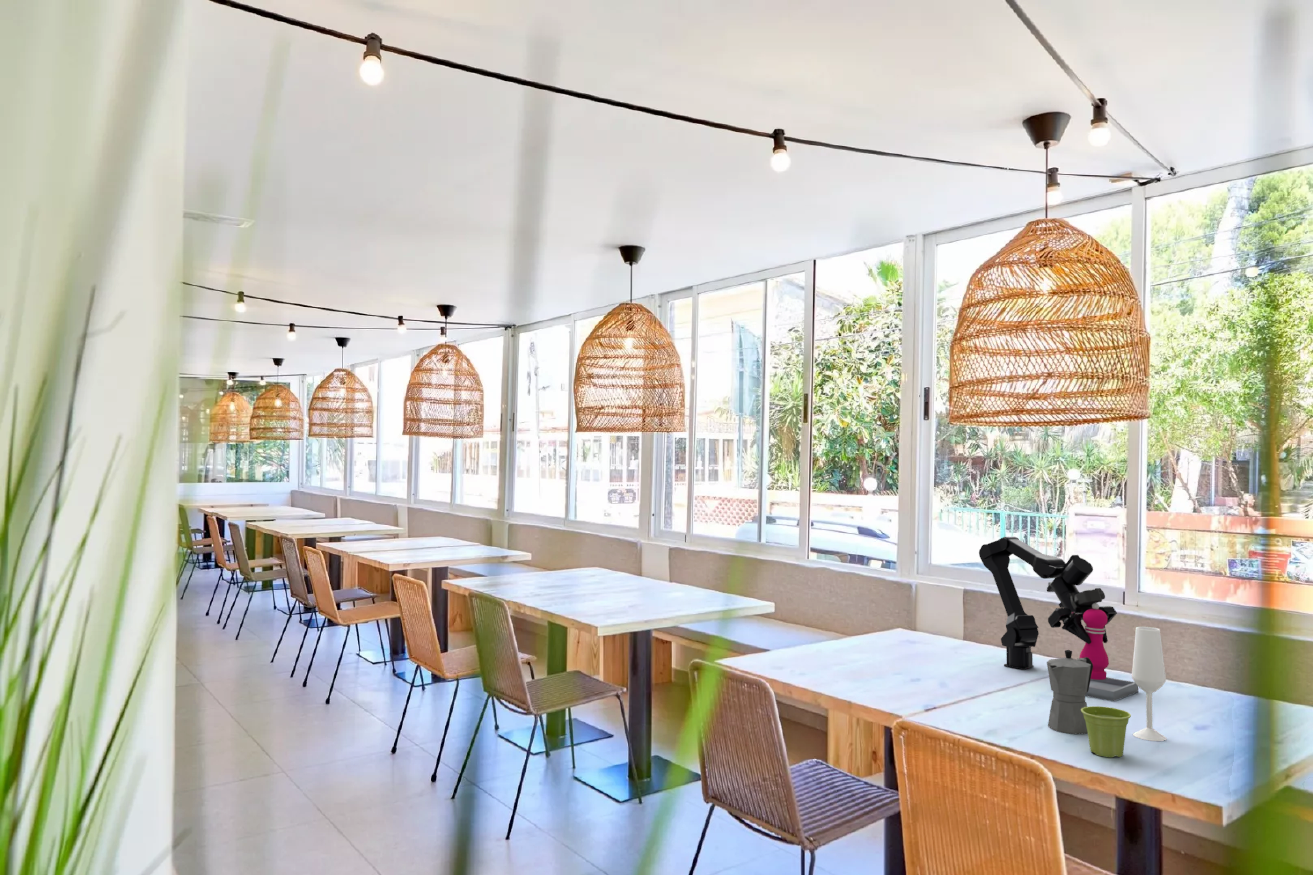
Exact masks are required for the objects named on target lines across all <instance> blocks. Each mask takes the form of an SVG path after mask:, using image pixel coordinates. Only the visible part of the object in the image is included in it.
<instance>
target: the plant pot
mask: <svg viewBox="0 0 1313 875" xmlns="http://www.w3.org/2000/svg"><path fill="white" fill-rule="evenodd" d="M1081 712H1082V713H1083V715H1084V719H1085V721H1086V727H1087V732H1088V733H1087V738H1088V743H1089V751H1090V752H1091V753H1094V754H1095V755H1096V756H1099V757H1104V758H1114V757H1118V758H1121V757H1123V756H1124V748H1125V740H1126V734H1127V733H1126V732H1127V726H1128V723H1129V719H1130V718H1131V717H1132V714H1131V713H1130V712H1128V711H1126V710H1124V709H1119V708H1117V707H1107V706H1099V705H1097V706H1087V707H1084V708H1082V709H1081Z"/></svg>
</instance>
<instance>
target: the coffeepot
mask: <svg viewBox="0 0 1313 875" xmlns="http://www.w3.org/2000/svg"><path fill="white" fill-rule="evenodd" d="M1064 654H1065V657H1060V658H1059V657H1058V658H1051V659H1049V660H1047V661H1046V667H1047V673H1048V678H1049V684H1050V691H1051V692H1053V698H1052V699H1051V704H1050V710H1049V717H1048V722H1047V727H1048V728H1050V730H1053V731H1055V732H1059V733H1062V734H1067V735H1068V734H1069V735H1088V732H1087V727H1086V721H1085V719H1084V715H1083V713H1082V712H1081V709H1082V708H1084V707H1088V704H1087V702H1086V696H1085V694H1086V693H1087V692H1088V690H1089V685H1090V680H1091V674H1092V670H1093V663H1092V662H1091V660H1090V659H1089V658H1088V657H1084V658H1079V657H1078V658H1072V656H1073V651H1072V650H1070V649H1065V650H1064Z"/></svg>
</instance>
